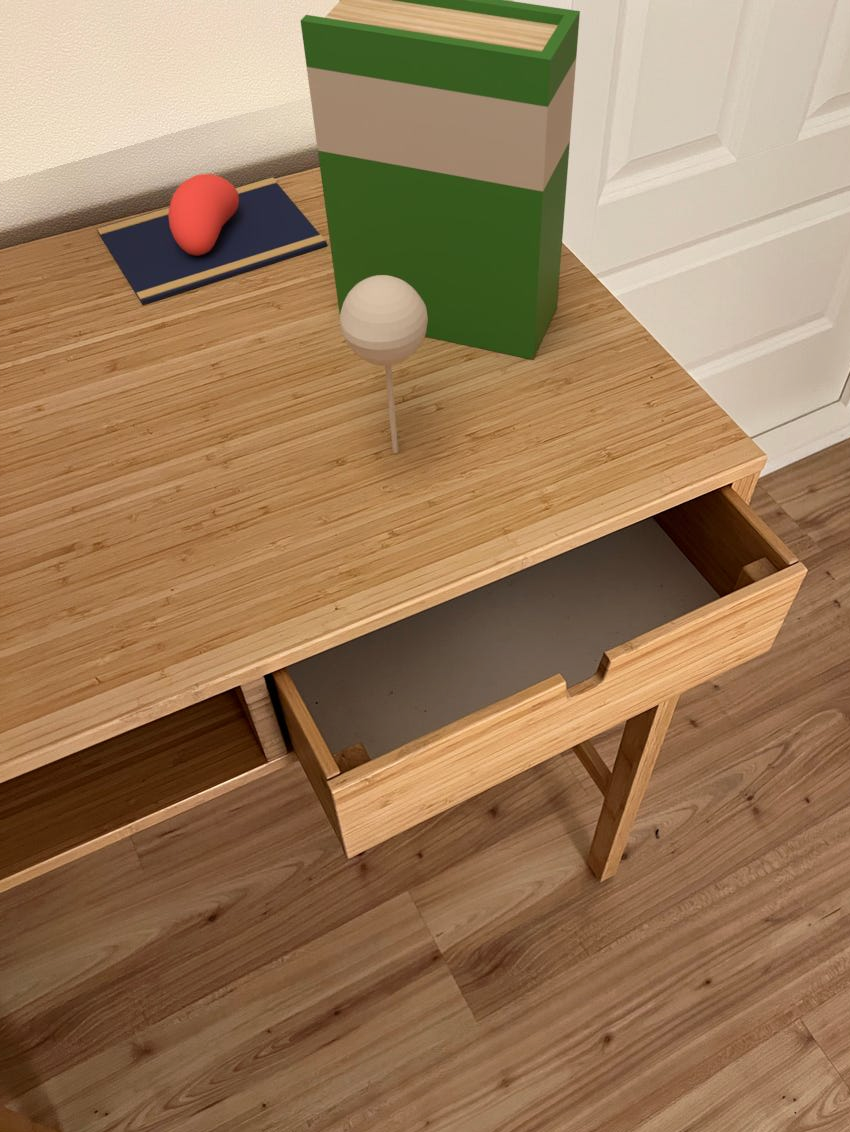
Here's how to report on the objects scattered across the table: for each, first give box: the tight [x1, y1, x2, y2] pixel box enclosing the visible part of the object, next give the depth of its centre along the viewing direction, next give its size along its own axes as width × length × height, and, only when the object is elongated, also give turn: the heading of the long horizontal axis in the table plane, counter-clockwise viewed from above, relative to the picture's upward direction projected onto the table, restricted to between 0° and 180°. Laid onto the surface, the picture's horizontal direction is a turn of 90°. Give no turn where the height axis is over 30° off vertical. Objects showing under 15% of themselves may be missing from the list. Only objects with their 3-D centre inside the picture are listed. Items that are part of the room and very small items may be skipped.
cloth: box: [96, 176, 328, 306], centre depth 94 cm, size 18×13×1 cm
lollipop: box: [339, 275, 428, 454], centre depth 71 cm, size 6×6×15 cm
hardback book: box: [300, 0, 581, 361], centre depth 78 cm, size 18×7×24 cm, turn 72°
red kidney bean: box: [168, 173, 239, 256], centre depth 92 cm, size 5×9×6 cm, turn 156°
